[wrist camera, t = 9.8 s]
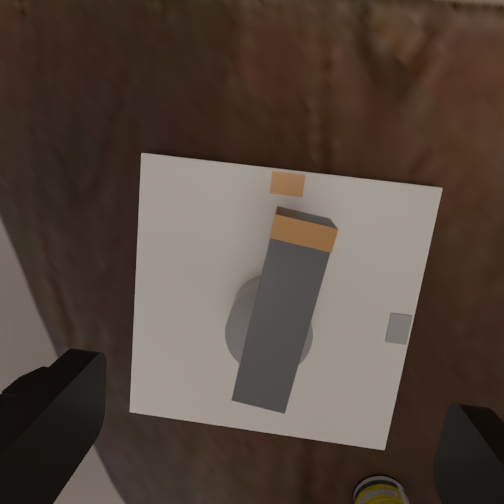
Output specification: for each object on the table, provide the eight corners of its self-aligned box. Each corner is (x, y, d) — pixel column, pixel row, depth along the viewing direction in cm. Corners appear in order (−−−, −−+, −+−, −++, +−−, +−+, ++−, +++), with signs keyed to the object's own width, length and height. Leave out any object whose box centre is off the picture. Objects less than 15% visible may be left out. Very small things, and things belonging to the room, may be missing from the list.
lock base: (380, 438, 35) (399, 493, 29) (135, 401, 36) (107, 448, 30) (434, 186, 30) (471, 193, 24) (148, 153, 31) (116, 151, 25)
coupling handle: (285, 362, 27) (285, 414, 22) (241, 351, 27) (230, 400, 22) (326, 213, 25) (338, 229, 19) (277, 201, 25) (275, 214, 19)
